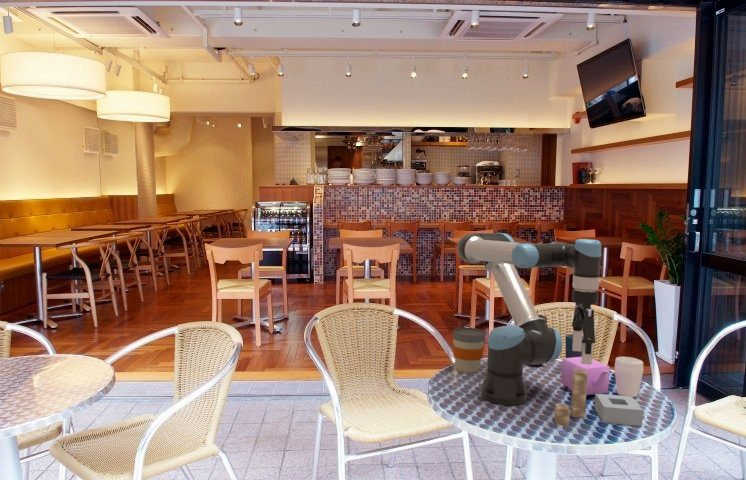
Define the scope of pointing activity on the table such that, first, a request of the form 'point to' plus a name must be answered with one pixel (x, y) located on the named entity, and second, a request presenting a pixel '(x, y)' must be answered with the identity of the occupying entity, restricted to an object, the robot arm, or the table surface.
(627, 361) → the cup
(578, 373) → the long peg
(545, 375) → the table surface
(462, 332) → the reusable coffee cup
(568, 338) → the cup
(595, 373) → the teapot
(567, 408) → the short peg
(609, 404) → the socket block
